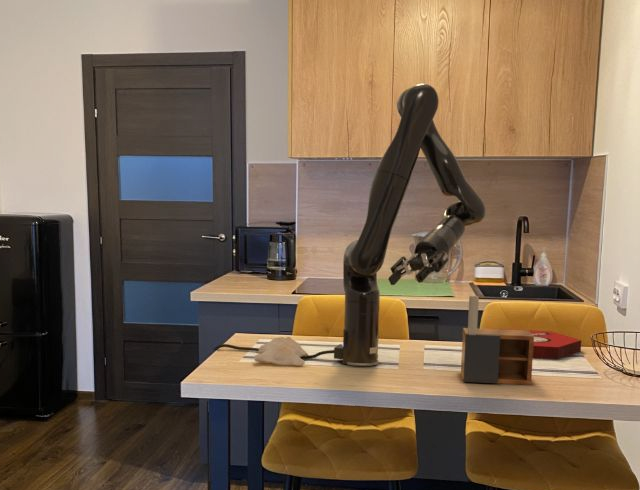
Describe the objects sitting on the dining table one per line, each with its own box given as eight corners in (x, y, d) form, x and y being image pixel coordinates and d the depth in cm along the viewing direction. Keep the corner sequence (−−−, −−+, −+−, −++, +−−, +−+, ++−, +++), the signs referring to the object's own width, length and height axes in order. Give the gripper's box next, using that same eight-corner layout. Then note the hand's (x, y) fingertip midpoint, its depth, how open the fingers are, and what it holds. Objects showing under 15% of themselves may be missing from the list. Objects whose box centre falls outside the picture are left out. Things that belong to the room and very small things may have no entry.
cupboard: (463, 381, 181) (465, 333, 180) (460, 373, 189) (462, 327, 187) (531, 384, 179) (534, 336, 177) (525, 377, 187) (528, 330, 185)
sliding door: (463, 382, 179) (468, 296, 176) (463, 380, 181) (467, 295, 178) (497, 384, 178) (502, 297, 175) (496, 381, 180) (501, 296, 177)
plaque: (461, 341, 232) (516, 361, 204) (462, 330, 232) (517, 349, 203) (535, 337, 240) (598, 357, 211) (536, 327, 239) (599, 345, 210)
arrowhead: (252, 348, 195) (266, 326, 225) (252, 367, 196) (266, 342, 225) (306, 351, 194) (313, 328, 223) (305, 370, 195) (312, 345, 224)
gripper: (408, 236, 193) (375, 270, 184) (453, 229, 182) (421, 265, 173) (420, 260, 196) (388, 295, 187) (465, 254, 185) (433, 291, 176)
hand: (404, 280), depth 180 cm, fingers open, 8 cm apart
